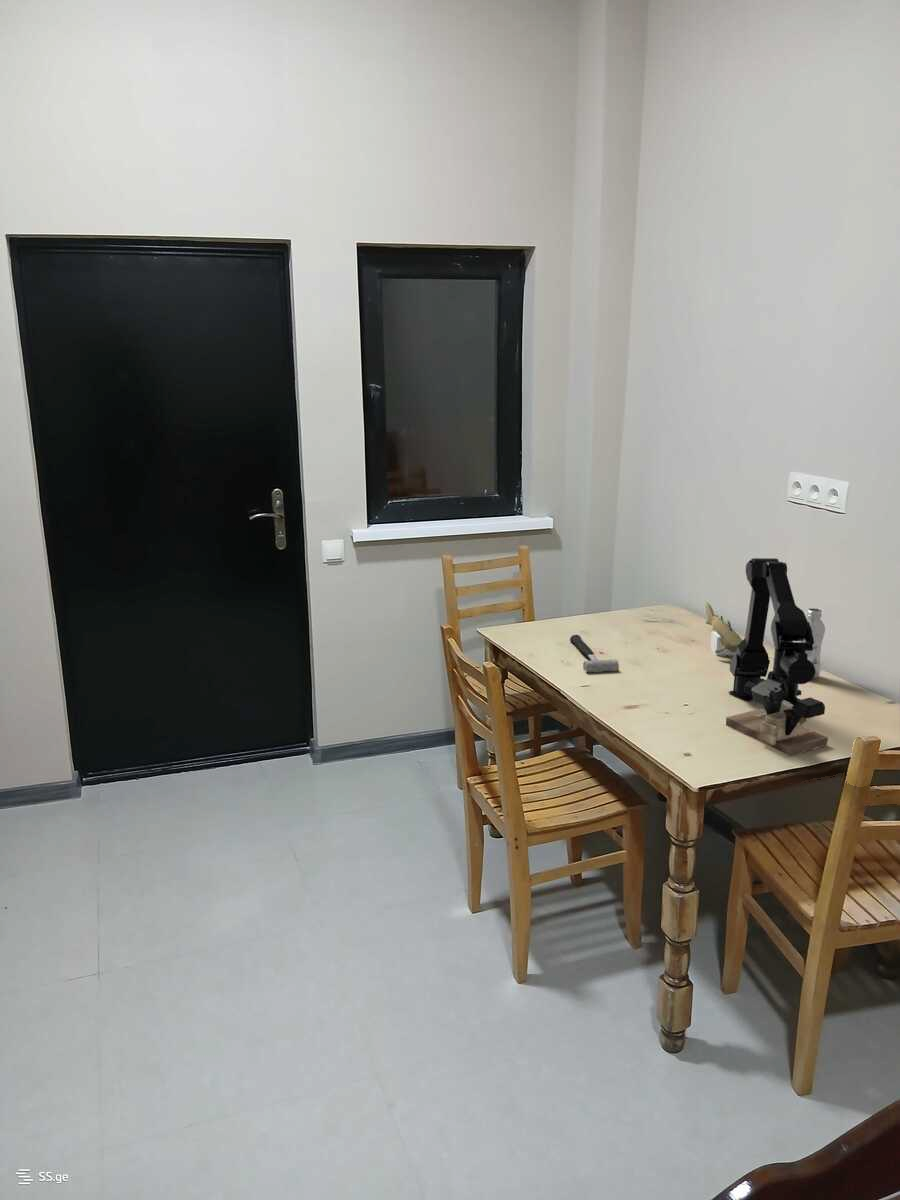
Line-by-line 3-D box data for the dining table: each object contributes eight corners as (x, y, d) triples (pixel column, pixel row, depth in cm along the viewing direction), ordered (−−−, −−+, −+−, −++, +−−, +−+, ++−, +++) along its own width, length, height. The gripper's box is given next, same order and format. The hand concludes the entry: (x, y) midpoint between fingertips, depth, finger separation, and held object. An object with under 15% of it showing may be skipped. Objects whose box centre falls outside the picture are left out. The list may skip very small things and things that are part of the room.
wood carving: (718, 633, 279) (720, 601, 277) (753, 668, 246) (756, 632, 243) (691, 633, 280) (693, 601, 277) (723, 669, 246) (726, 633, 243)
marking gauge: (759, 738, 195) (761, 716, 194) (795, 729, 201) (797, 707, 199) (772, 745, 192) (774, 722, 191) (809, 735, 197) (811, 712, 196)
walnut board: (725, 724, 207) (726, 716, 206) (761, 715, 212) (761, 708, 212) (790, 756, 190) (791, 747, 189) (827, 745, 195) (828, 737, 194)
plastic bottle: (791, 677, 238) (798, 610, 233) (801, 671, 243) (808, 605, 238) (814, 683, 234) (821, 614, 229) (823, 676, 238) (831, 609, 233)
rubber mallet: (589, 632, 273) (619, 661, 244) (589, 643, 274) (618, 673, 245) (560, 634, 272) (586, 663, 243) (560, 645, 272) (586, 675, 244)
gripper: (730, 662, 196) (725, 724, 200) (794, 687, 180) (787, 754, 184) (764, 655, 201) (759, 715, 205) (830, 679, 184) (822, 743, 188)
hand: (780, 731), depth 195 cm, fingers closed on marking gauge, 4 cm apart
